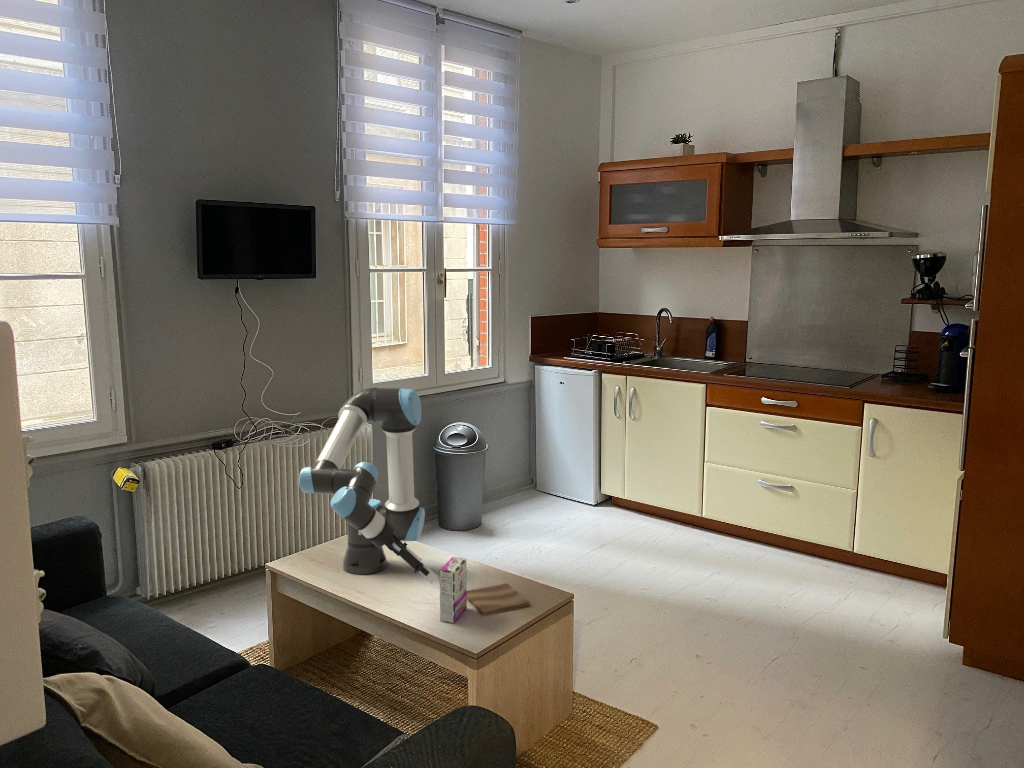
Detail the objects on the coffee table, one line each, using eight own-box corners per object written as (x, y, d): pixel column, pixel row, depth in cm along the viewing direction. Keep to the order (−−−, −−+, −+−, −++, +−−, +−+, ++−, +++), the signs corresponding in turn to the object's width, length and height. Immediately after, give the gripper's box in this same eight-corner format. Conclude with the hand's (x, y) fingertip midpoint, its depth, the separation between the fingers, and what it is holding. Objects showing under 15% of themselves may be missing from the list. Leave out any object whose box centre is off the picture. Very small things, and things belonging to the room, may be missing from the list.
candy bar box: (451, 606, 245) (452, 556, 243) (467, 608, 244) (467, 558, 241) (438, 621, 235) (438, 569, 232) (454, 624, 233) (454, 571, 231)
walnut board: (462, 595, 253) (462, 591, 253) (507, 586, 260) (507, 583, 260) (482, 615, 239) (482, 611, 239) (529, 606, 246) (529, 602, 246)
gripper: (356, 525, 234) (404, 565, 243) (380, 553, 212) (432, 597, 221) (373, 506, 235) (420, 547, 244) (398, 532, 213) (450, 576, 222)
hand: (426, 571), depth 232 cm, fingers open, 13 cm apart
